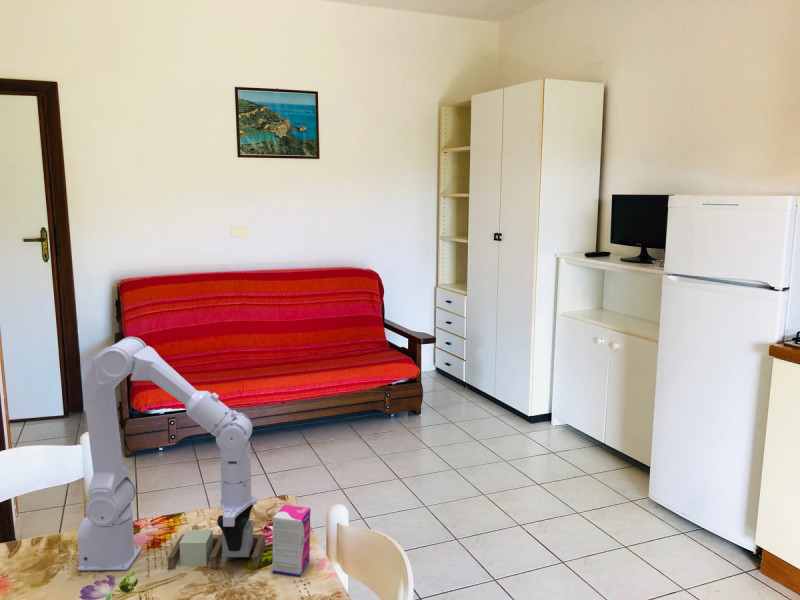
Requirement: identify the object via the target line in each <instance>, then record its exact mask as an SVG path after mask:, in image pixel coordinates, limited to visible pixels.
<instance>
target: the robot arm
mask: <svg viewBox="0 0 800 600" xmlns="http://www.w3.org/2000/svg"><path fill="white" fill-rule="evenodd" d="M91 361H92V362H91V366H90V368H89V370H88V372H87V374H86V376H85V377H84V380H83V382H82V392H83V400H84V406H85V414H86V415H85V416H86V424H87V432H88V439H89V440H88V441H89V448H90V454H91V455H90V456H91V463H92V464H91V465H92V471H93V472H92V473H93V474H92V477H91V481H90V483H89V486H88V491H87V492H88V499H87V502H86V504H85V508H84V509H85V515H86V516H85V517H84V518H83V519H82V520H81V523H80V525H79V527H78V532H77V533H78V534H77V546H78V560H79V561H78V562H79V565H78V567H77V571H127V570H129V569H130V567H131V566H132V564H133V563H134V561H135V560H136V559H137V557H138V555H139V554H140V553H141V552H142V549H143V547H142V546H141V545H137V546H135V538H134V536H135V535H134V517H133V509H132V505H131V504H132V501H134V499H135V498H136V496H137V487H136V484H135V482H134V481H133V480H132V477H131V475H130V469H129V468H127V467H126V466H125V465H124V460H123V458H124V457H123V451H122V450H123V449H122V442H121V434H120V425H119V416H118V410H117V409H118V408H117V407H118V406H117V401H116V400H117V398H116V391H115V388H116V387H117V386H119V384H120V383H121V382H122V381H123V380H124V379H126V378H127V377H128V376H129V375H130V374H131V376H130V381H152V382H153V384H155V385H157V386H158V387H159V388H161V389H162V390H164V391H165V392H167V394H169V395H171V396H172V397H174V398H175V399H176V400H177V401H179V402H181V403H182V404H183V405H184V406H185V411H186V415H187V416H188V417H189V418H190V419H191V420H193V421H194V422H195V423H197V424H198V425H199V426H200V427H202V428H203V429H204V430H206V432H208V433H210V434H211V435H212V436H214V437H215V442H216V445H217V447H218V448H219V449H220V459H219V463H220V497H221V498H220V509H221V511H222V515H218V517H217V520H216V522H217V526H218V527H219V528H220V529H221V533H222V532H223V534H224V536H225V539H226V543H227V546H228V549H229V551H240V548H241V544H242V537H243V531H244V527H245V525H246V523H247V520H250V517H251V516H250V515H251V511H252V509H253V507H254V505H257V503H258V500H259V498H258V496H253V495H252V458H251V457H252V455H251V442H250V440H249V439H250V437H251V436H252V433H253V427H254V426H253V423H252V421H251V419H250V418H249V416H248V415H246V414H245V413H242V412H237V411H236V410H235V409H234V410H233V409H231V408H230V407H228V406H227V405H226V404H224V402H222V401H221V400H219V399H218V398H220V396H219V395H218V394H217V393H216V392H213V393H211V392H210V391H208V390H197V389H196V388H195V387H194V386H193V385H192V384H190V383H189V382H188V381H187V380H186V379H185V378H184V377H183V376H181V375H180V373H178V372H177V371H176V370H175V369H174V368H173V367H172V366H170V365H169V363H167V362H166V361H165V360H164V359H163V358H162V357H161V356H160V355H159V354H158V352H157V351H156V350H155V348H153V347H151V346H149V345H146V343H145V341H143V340H142V339H141V338H139V337H135V336H127V337H124V338H122V339H121V340H119V341H118V342H116V343H114V344H112V345H111V346H107V347H105V348H104V349H103V350H101V351H100V352H99V353H98V354H97V355H95V356H94V357H93V358H92V359H91Z"/></svg>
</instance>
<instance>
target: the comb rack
mask: <svg viewBox="0 0 800 600" xmlns="http://www.w3.org/2000/svg"><path fill="white" fill-rule="evenodd" d="M184 535H185V534H180V535H179V537H178V539H177V541H176V543H175V544H174V546H173V548H172V550H171V551H170V553H169V555H168V557H167V566H168V567H167V569H168V570H175V568H176V566H177V565H178V563H179V562H180V541H181V540H182V538H183V536H184ZM265 547H266V535H265V534H261V533H259V534H254V533H253V546H252V549H251V551H252V550H253V553H252V556H251V558H252V560H251V561H252V564H251V565H252V566H251V567H252V568H251V569H252V570H258V568H259V565H260V562H261V559H262V556H263V553H264V550H265ZM222 557H223V556H222V534H213V552H212V554H211V556H210V560H209V562H210V563H209V564H210V566H209V567H210V570H216V569H217V567H218V565H219V562H220V560H221V558H222Z"/></svg>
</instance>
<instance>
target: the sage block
mask: <svg viewBox="0 0 800 600" xmlns="http://www.w3.org/2000/svg"><path fill="white" fill-rule="evenodd" d="M185 531H186V532H185V533H184V534H183V535H184V536H183V538H182V540H181V541H180V559H179V563H180V565H179V566H180V567H183V568H184V567H187V568H189V567H192V568H193V567H195V568H197V567H198V568H199V567H201V568H202V567H203V568H204V567H208V564H209V562H210V556H211V554H212V552H213V535H214V534H213V533H214V532H213V529H187V530H185Z"/></svg>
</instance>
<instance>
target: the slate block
mask: <svg viewBox="0 0 800 600" xmlns="http://www.w3.org/2000/svg"><path fill="white" fill-rule="evenodd" d="M253 534H254V520H253V519H249V520H247V523H246V525H245V527H244V531H243V537H242V544H241V548H240V551H229V549H228V546H227V543H226V539H225V536H224V534H223V532H222V531H221V535H222V556H221V557H223V558H249V557H250V554H251V551H252V550H251V549H252V546H253Z"/></svg>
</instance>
